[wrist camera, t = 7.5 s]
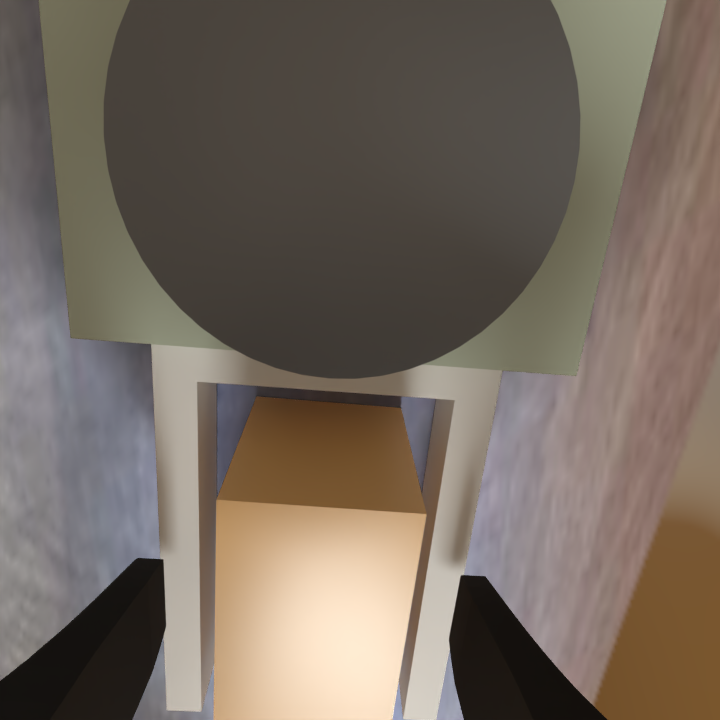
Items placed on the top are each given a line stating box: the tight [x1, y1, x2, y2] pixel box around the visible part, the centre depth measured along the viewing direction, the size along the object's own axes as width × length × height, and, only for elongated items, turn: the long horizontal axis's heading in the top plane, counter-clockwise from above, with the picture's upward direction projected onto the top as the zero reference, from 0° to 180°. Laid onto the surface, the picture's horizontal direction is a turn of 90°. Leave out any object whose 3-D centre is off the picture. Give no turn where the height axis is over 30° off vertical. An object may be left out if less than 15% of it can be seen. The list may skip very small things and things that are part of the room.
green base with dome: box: [39, 0, 667, 720], centre depth 12 cm, size 20×11×5 cm, turn 175°
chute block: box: [214, 396, 427, 720], centre depth 14 cm, size 8×4×5 cm, turn 174°
